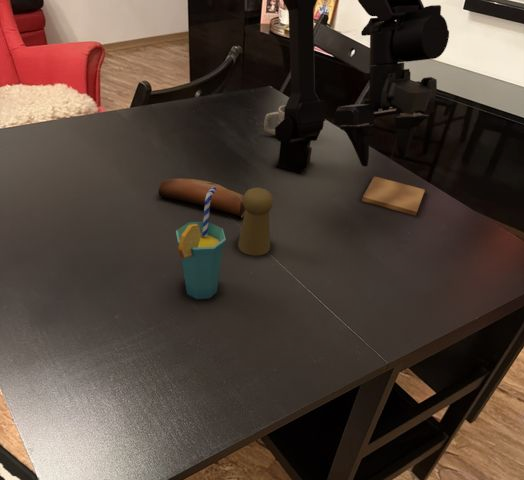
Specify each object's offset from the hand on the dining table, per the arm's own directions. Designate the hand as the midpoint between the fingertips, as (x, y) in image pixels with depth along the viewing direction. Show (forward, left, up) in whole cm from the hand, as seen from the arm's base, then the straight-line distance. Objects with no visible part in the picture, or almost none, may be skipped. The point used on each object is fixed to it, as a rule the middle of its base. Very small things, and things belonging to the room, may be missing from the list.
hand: (383, 162), depth 88 cm
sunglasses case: (-32, -8, -14) cm, 36 cm away
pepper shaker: (-17, -18, -14) cm, 29 cm away
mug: (-30, +31, -14) cm, 45 cm away
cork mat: (+3, +15, -13) cm, 20 cm away
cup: (-20, -33, -14) cm, 41 cm away
